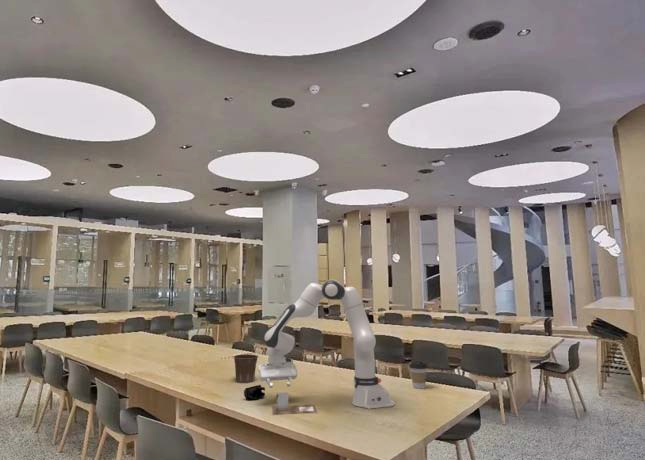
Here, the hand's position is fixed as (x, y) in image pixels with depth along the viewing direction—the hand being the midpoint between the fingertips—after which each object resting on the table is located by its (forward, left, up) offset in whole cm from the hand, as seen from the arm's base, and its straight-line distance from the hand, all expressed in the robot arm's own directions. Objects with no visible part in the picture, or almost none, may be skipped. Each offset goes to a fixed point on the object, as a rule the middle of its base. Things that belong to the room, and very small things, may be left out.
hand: (280, 386), depth 210 cm
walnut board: (-7, +7, -11) cm, 15 cm away
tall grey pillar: (-1, +6, -10) cm, 12 cm away
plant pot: (+22, -65, -11) cm, 69 cm away
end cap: (+14, -21, -11) cm, 28 cm away
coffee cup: (-87, -32, -11) cm, 93 cm away
